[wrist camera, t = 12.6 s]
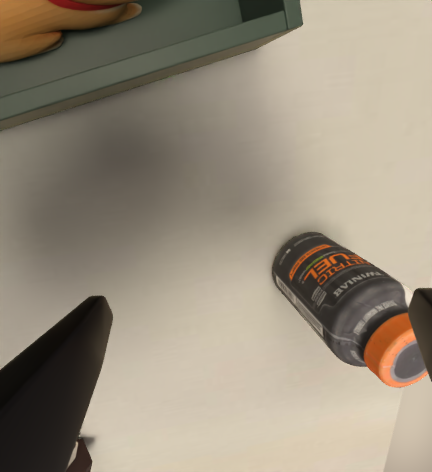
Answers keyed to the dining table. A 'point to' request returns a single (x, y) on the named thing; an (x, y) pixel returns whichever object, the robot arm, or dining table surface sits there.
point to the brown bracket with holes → (80, 458)
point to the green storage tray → (138, 52)
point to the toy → (53, 22)
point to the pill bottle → (351, 307)
